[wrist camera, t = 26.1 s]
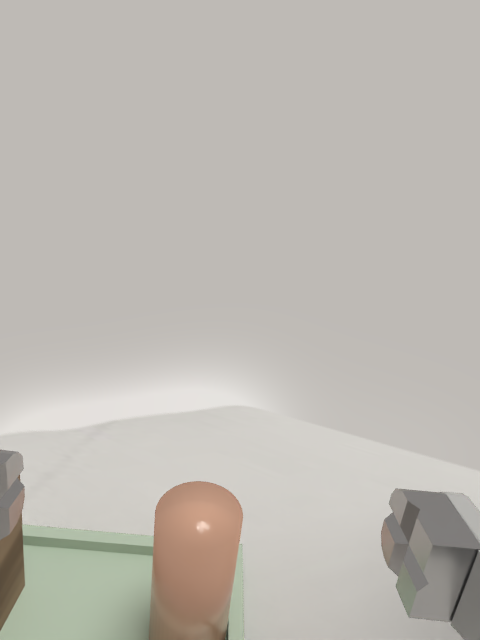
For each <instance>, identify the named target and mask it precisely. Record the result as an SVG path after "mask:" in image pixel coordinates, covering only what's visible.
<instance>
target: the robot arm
mask: <svg viewBox="0 0 480 640" xmlns="http://www.w3.org/2000/svg"><path fill="white" fill-rule="evenodd" d="M23 469H24V467H23V456H22V455H21V454H20V453H19V452H14V451H6V450H0V540H1V539H3V538H4V537H6V536H8V535H9V534H10V533H11V532H12V530H13V528H14V527H15V525H16V524H17V522H18V519H19V517H20V514H21V511H22V509H23V503H24V497H25V492H24V485H23V484H22V483H21V482H20V480H19V479H18V478H17V477H18V476H19V474H20V473H21V472H22V470H23ZM389 505H390V507H391V509H392V511H393V513H392V514H390V515H389V516H388V517H387V518H386V519H384V523H383V527H382V531H381V546H382V550H383V555H384V558H385V561H386V563H387V566H388V567H389V568H390V569H391V570H392V571H393V572H394V573H395V574H396V575H397V576H398V580H397V584H396V588H397V590H398V593H399V595H400V598H401V600H402V602H403V605H404V607H405V610H406V612H407V615H408V617H409V618H417V619H426V620H434V621H443V622H451V625H452V627H453V628H454V629H455V630H456V631H457V632H458V633H459V634H460V635H461V636H462V637H463V638H464V639H465V640H480V511H479V510H478V509H477V507H476V506H475V505H474V504H473V502H472V501H471V500H470V498H469V497H467V496H466V495H464V494H463V493H450V492H428V491H417V490H406V489H395V490H394V491H393V493H392V494H391V498H390V501H389Z"/></svg>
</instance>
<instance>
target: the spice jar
mask: <svg viewBox="0 0 480 640" xmlns="http://www.w3.org/2000/svg"><path fill="white" fill-rule="evenodd" d="M242 521H243V512H242V508H241V505H240V503H239V501H238V500H237V499H236V497H235V496H234V495H233V494H232V493H231V492H229V491H228V490H227V489H225V488H223V487H221V486H219V485H216V484H213V483H209V482H201V481H196V482H188V483H183V484H180V485H178V486H175V487H174V488H172V489H170V490H169V491H167V492H166V493H165V494H164V495H163V496H162V497H161V499H160V500H159V502H158V504H157V506H156V510H155V525H154V544H153V563H152V582H151V601H150V620H149V640H225V638H226V631H227V624H228V617H229V611H230V604H231V597H232V590H233V583H234V576H235V569H236V562H237V555H238V548H239V541H240V535H241V528H242Z"/></svg>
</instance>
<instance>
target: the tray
mask: <svg viewBox="0 0 480 640" xmlns="http://www.w3.org/2000/svg"><path fill="white" fill-rule="evenodd" d="M22 530H23V552H24V573H25V586H24V588H23V590H22V592H21V594H20V596H19V598H18V599H17V601H16V603H15V605H14V607H13V609H12V611H11V612H10V614H9V616H8V618H7V620H6V622H5V624H4V625H3V627H2V629H1V631H0V640H149V620H150V601H151V582H152V563H153V544H154V536H147V535H135V534H124V533H112V532H101V531H90V530H78V529H67V528H56V527H44V526H33V525H22ZM225 640H244V613H243V558H242V544H239V548H238V555H237V562H236V569H235V576H234V583H233V590H232V597H231V604H230V611H229V617H228V624H227V631H226V638H225Z"/></svg>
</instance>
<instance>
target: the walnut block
mask: <svg viewBox="0 0 480 640" xmlns="http://www.w3.org/2000/svg"><path fill="white" fill-rule="evenodd" d="M17 478H18V479H19V480H20V474H19V476H18V477H17ZM24 586H25V573H24V552H23V530H22V511H21V514H20V517H19V519H18V522H17V524H16V525H15V527H14V528H13V530H12V532H11V533H10V534H9V535H8V536H6V537H4V538H3V539H1V540H0V631H1V629H2V627H3V625H4V624H5V622H6V620H7V618H8V616H9V614H10V612H11V611H12V609H13V607H14V605H15V603H16V601H17V599H18V598H19V596H20V594H21V592H22V590H23V588H24Z"/></svg>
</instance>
